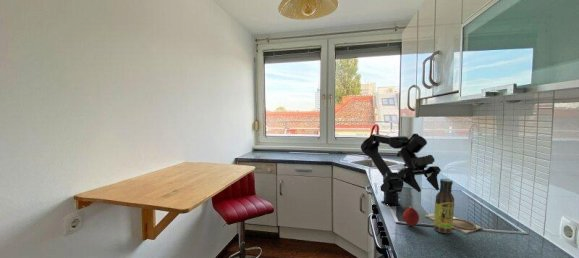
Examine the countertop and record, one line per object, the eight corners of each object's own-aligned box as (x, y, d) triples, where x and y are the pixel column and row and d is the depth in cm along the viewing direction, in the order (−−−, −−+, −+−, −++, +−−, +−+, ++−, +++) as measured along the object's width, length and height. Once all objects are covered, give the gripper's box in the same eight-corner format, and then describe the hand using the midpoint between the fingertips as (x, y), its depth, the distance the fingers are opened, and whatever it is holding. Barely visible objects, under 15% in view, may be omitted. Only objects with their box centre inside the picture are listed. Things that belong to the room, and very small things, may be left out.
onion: (415, 223, 105) (416, 204, 104) (421, 229, 99) (421, 209, 98) (400, 222, 105) (401, 203, 105) (405, 228, 99) (406, 208, 99)
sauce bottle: (441, 235, 94) (444, 182, 93) (429, 227, 101) (432, 177, 99) (456, 234, 96) (459, 181, 94) (444, 226, 102) (446, 177, 100)
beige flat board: (425, 216, 111) (425, 214, 111) (440, 213, 116) (441, 211, 115) (465, 233, 96) (465, 231, 96) (482, 228, 100) (482, 226, 100)
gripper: (402, 148, 106) (422, 182, 96) (438, 147, 111) (460, 179, 101) (389, 164, 114) (406, 196, 104) (423, 162, 119) (442, 192, 109)
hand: (429, 190), depth 104 cm, fingers open, 9 cm apart
